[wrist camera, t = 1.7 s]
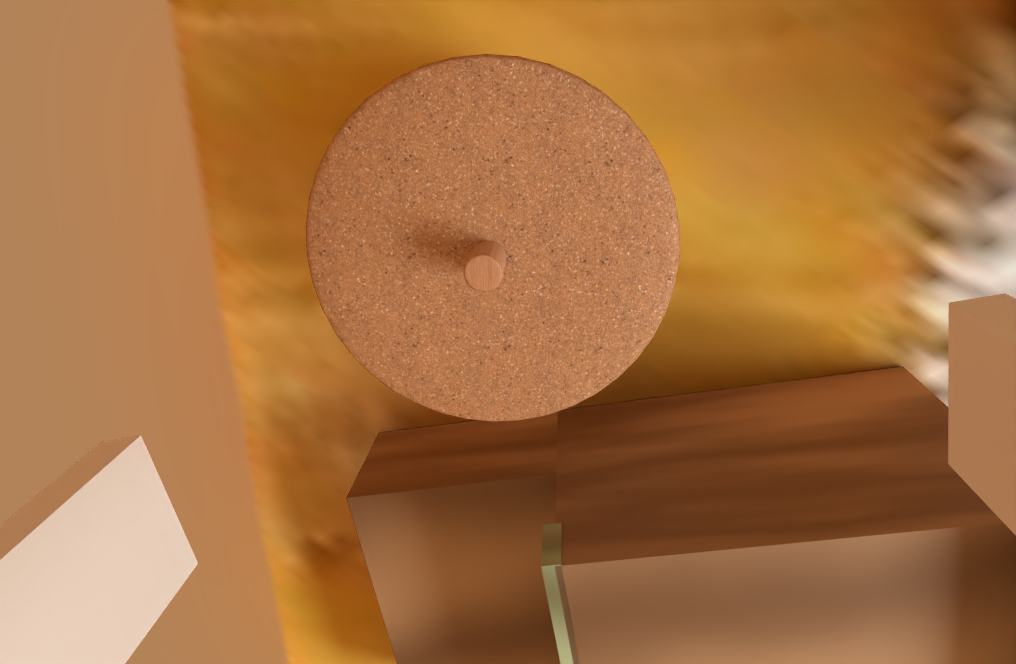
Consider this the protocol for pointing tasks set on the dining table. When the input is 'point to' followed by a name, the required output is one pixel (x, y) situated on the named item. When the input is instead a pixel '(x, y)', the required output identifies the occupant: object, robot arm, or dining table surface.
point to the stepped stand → (691, 533)
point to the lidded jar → (492, 237)
